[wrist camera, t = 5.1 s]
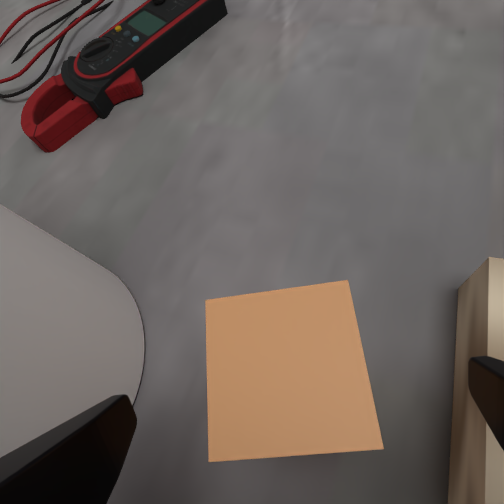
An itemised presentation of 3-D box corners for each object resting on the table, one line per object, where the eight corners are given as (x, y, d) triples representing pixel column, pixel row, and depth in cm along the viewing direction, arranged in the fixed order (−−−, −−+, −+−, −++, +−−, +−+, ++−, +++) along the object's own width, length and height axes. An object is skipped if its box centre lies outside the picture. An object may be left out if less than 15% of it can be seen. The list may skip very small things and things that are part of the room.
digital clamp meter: (262, -55, 29) (12, 133, 25) (270, 2, 33) (56, 173, 29) (116, -103, 39) (-81, 26, 35) (135, -55, 43) (-39, 66, 39)
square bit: (354, 434, 17) (383, 448, 8) (270, 441, 17) (209, 462, 8) (338, 348, 18) (347, 280, 10) (263, 357, 19) (205, 300, 10)
